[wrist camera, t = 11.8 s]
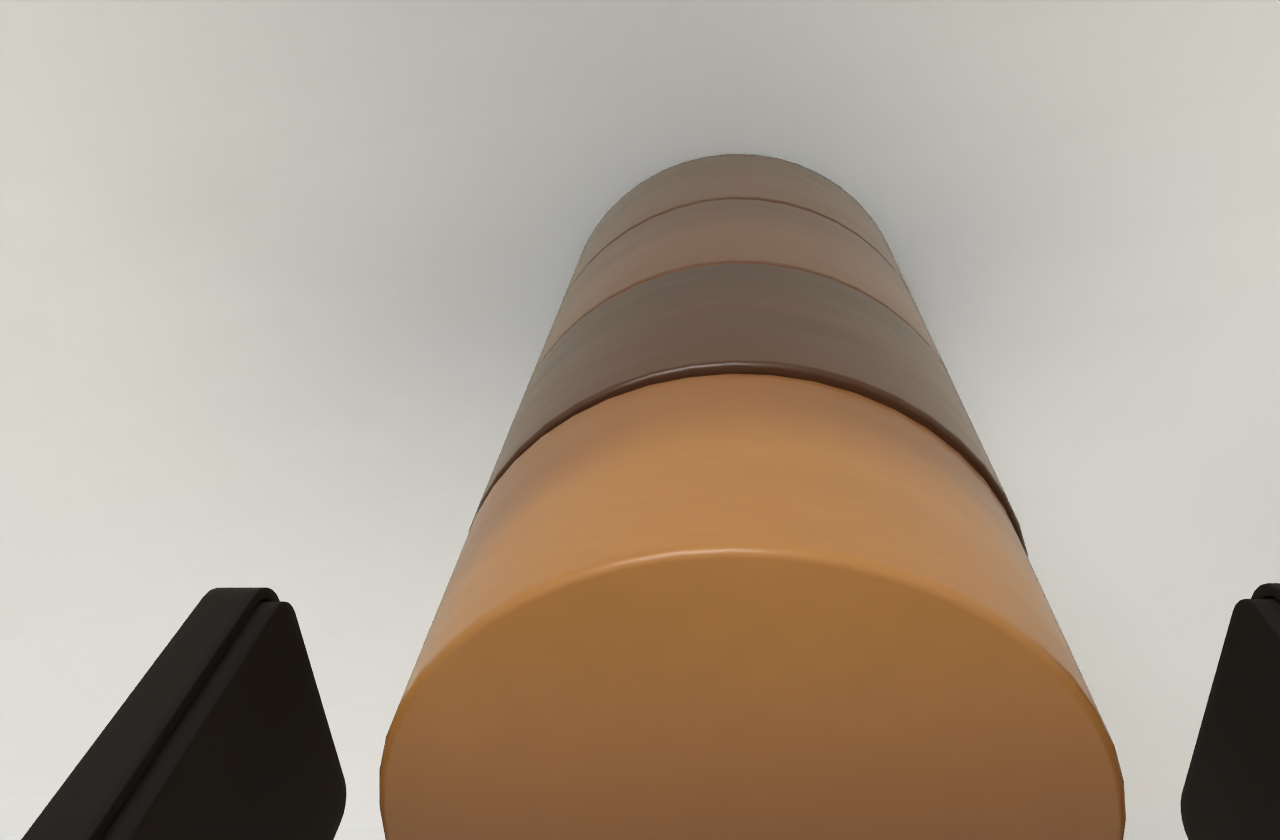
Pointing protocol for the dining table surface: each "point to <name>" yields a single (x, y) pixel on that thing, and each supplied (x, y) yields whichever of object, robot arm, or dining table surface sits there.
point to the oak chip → (746, 640)
